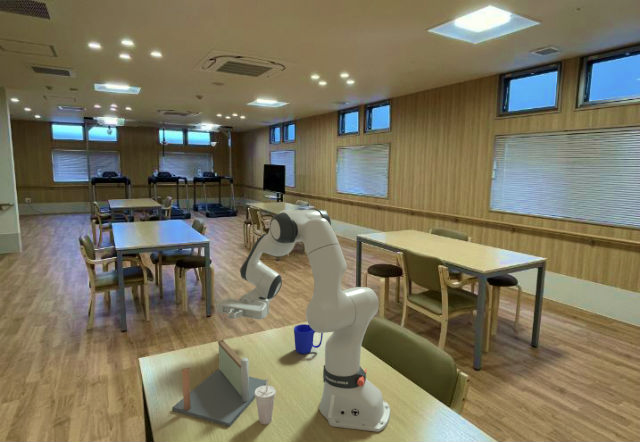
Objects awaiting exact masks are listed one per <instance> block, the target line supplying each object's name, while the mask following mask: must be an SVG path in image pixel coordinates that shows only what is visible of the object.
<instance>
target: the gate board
mask: <svg viewBox="0 0 640 442" xmlns="http://www.w3.org/2000/svg"><path fill="white" fill-rule="evenodd" d="M249 363H250V362H249V358H247V357H243V358H241V393H242V396H241V395H240V394H239V393H238V391H237V390H236V389H235V388H234V386H233V385H232V384H231V383H230V381H229V380H228V379H227V378H226V376H225V375H224V374H223V373H222V371H221V370H220V369H219V368H217V369H216V370H215V371H214V372H212V373H211V374H210V375H209V376H208V377H206V378H205V379H204V380H203V381H202V382H200V383H199V384H198V385H197V386H195V388H193V389H192V390H191V385H190V384H191V383H190V382H191V381H190V380H191V379H190V368H183V369H182V371H181V373H182V374H181V375H182V393H183V397H182V398H181V399H180V400H179V401H177V403H175V404H174V405H173V406H172V411H173V412H176V413H180V414H182V415H186V416H190V417H193V418H197V419H200V420H204V421H208V422H211V423H213V424H218V425H220V426H225V427H228V428H230V427H231V426H232V425H233V424H234V423H235V422H236V420H238V418H240V416H241V414H243V412H244V411H246V409H247V408H248V406H249V405H251V403H252V402H253V401H254V400H256V398H255V396H254V394H255V390H256V389H257V388H258V387H260V386H264V385H266V379H262V378H258V377H252V376H250V375H249V367H250V366H249Z"/></svg>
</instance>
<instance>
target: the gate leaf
mask: <svg viewBox="0 0 640 442" xmlns="http://www.w3.org/2000/svg"><path fill="white" fill-rule="evenodd" d="M217 344H218V361H219V362H218V363H219V365H218V369H219V370H221V371H222V373H223V374H224V375H225V376H226V378H227V379H228V380H229V381H230V383H231V384H232V385H233V386H234V388H235V389H236V390H237V391H238V393H239V394H240V395H241V396H242V393H241V359H242V358H241V357H240V356H239V355H238V354H237V353H236V352H235V351H234V350H233V348H231V347H230V346H229V345H228V344H227V342H226V341H225V340H224V339H222V340H218V341H217Z"/></svg>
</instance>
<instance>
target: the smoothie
mask: <svg viewBox="0 0 640 442" xmlns="http://www.w3.org/2000/svg"><path fill="white" fill-rule="evenodd" d="M265 380H266V385H264V386H260V387H258V388H257V389H256V390H255V394H254V396H255V401H256V406H257V407H256V408H257V413H258V421H259V423H260V424H261V425H268V424H270V423H271V422H272V419H273V410H274V404H275V397H276V396H277V395H276V392H277V391H276V390H277V389H276V388H275V387H274V386H272V385H269V381H268V377H265Z"/></svg>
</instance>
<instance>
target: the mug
mask: <svg viewBox="0 0 640 442" xmlns="http://www.w3.org/2000/svg"><path fill="white" fill-rule="evenodd" d="M315 333H316V332H315V331H314V330H313V329H312V328H311V327H310V326H309V324H308V323H307V324H305V323H304V324H303V323H302V324H297V325H295V326H294V327H293V336H294V348H295V351H296V352H297V353H298V354H301V355H305V354H309V353H310V352H311V351H312V350H313V348H314V349H318V348H320V347H321V345H322V342H323V335H324V333H320V339H319V344H317V345H315V344H314V336H315Z"/></svg>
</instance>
